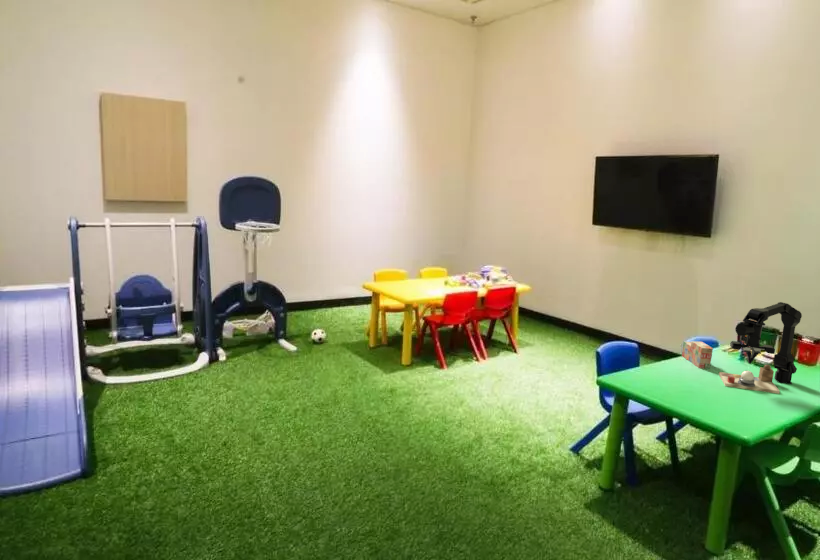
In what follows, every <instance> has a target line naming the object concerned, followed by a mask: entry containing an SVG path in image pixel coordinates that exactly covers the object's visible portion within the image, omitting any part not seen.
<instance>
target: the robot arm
mask: <svg viewBox="0 0 820 560" xmlns="http://www.w3.org/2000/svg"><path fill="white" fill-rule="evenodd" d="M778 314H779V315H780V320H781V322H782V324H783V328H782V333H781V341H780V346H779V347H780V348H779V351H778V352H777V353H776V349H775V347H773V345H772V344H771V345H769V344H763V346H760V343H761V336H762V329H763V326H766V323H764V322H765V321H767V320H768V319H769V317H772V316H775V315H778ZM802 317H803V315H802V313H801V311H800V310H799V309H796V308H794V306H792V305H790V304H789V303H787V302H782V301H779V302H777V303H775V304H771V305H770V306H766V307H764V308H763V307H762V308H761V307H758V308H757V307H756V308H755V307H754V308H751V309H750V310H749V311H748V312H747V314H746V315H745V316H744V318H743V319H742V321H740V323H738V324H737V325H736V326H735V332H736V335H738V336H739V341H735V340H732V341H730V344H729V347H730V348H731V350H732V349H733V350H741V349H742V350H743V352H745V354H746V358H747V362H748V364H752V363H753V361H754V359H756V357H757V356H758V355H760V354H762V352H761V351H765V352H766V353H767V354H772V355H773V354H774V356H773V360H772V362H773V367H774V369H776V370H775V371H774V372H775V373H774V380H775V381H776V382H777V383H781V384H789V385H792V377H793V375H794V374H795V373H797V370H798V368H797V367H796V364H795V363H794V362H795V359H794V356H793V354H792V350H793V349H792V348H793V343H794V336H795V331H796V327H797V326H798V325H799V324H800V322H801V319H802ZM741 342H743V343H741ZM775 353H776V354H775Z"/></svg>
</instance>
